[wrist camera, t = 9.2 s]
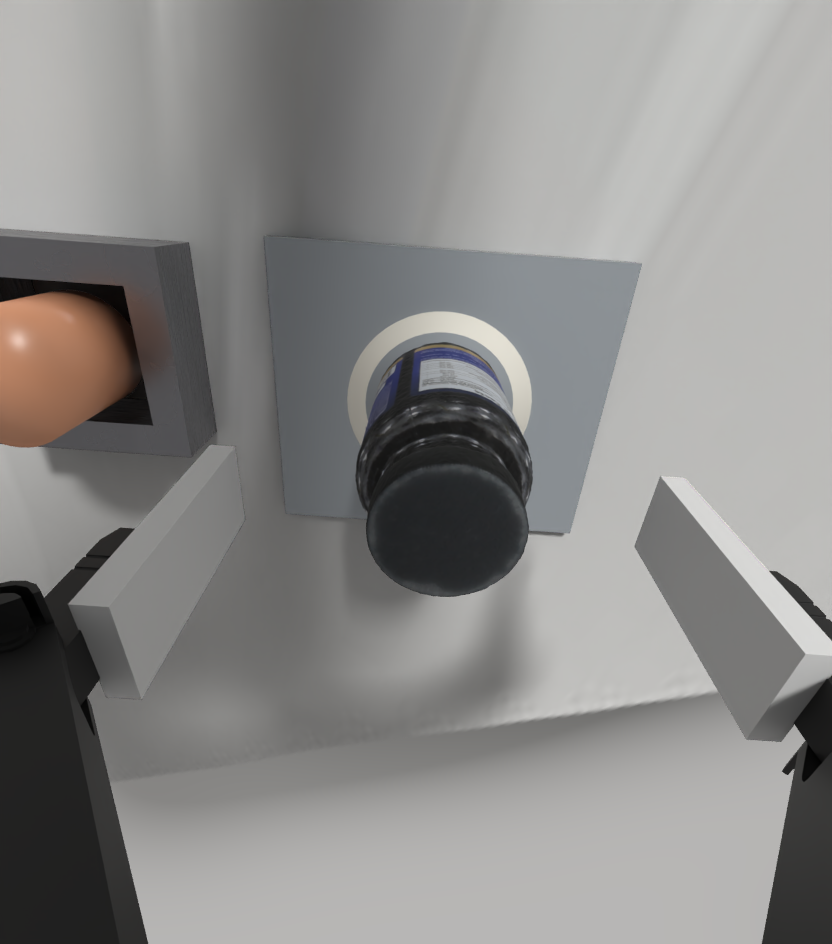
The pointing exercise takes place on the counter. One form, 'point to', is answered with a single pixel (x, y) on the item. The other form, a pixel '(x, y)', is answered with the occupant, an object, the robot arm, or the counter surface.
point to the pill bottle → (444, 474)
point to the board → (433, 321)
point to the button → (61, 364)
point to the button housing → (154, 326)
